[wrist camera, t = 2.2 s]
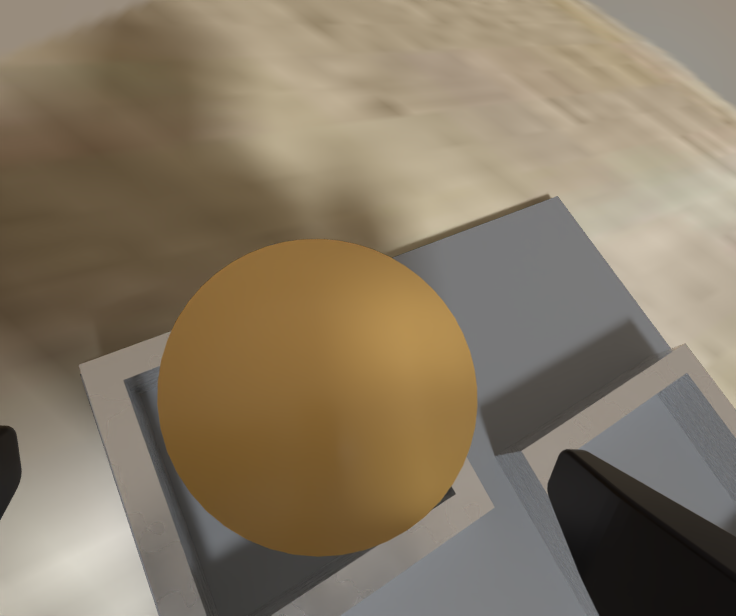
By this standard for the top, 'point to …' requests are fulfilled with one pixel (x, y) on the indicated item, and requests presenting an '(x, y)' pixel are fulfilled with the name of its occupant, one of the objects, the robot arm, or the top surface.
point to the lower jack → (600, 411)
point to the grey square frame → (169, 530)
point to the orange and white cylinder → (317, 397)
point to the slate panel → (497, 424)
